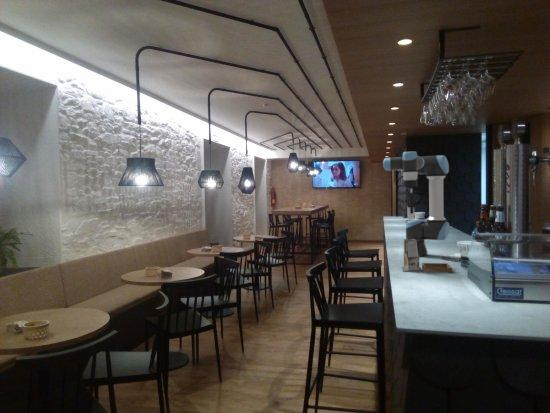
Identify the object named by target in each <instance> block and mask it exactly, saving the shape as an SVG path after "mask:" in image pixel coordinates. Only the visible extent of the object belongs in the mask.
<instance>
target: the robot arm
mask: <svg viewBox="0 0 550 413" xmlns="http://www.w3.org/2000/svg"><path fill="white" fill-rule="evenodd" d="M382 166H383V169H384V170H385V171H389V172H390V171H402V174H401V176H403V177H402V179H403V181H402V184H403V185H402V186H403V188H407V189H406V198H407V199H406V209H407V210H406V212H407V218H408V221H406V223H405V239H416V240H418V241H419V257H425V256H426V257H427V256H428V255H429V252H428V250H427V246H426V244H425V240H429V241H431V240H433V241H445V240H446V239H447V238H448V236H449V233H450V223H449V222H448V221H447V218H445V216H444V213H445V212H444V210H445V209H444V179H445V178H446V177H447V174H448V173H449V171H450V165H449V161H448V158H447V157H446V155H442V154H441V155H438V154H437V155H426V156H419V155H418V152H417V151H412V150H411V151H403V153H402V156H393V157H385V158H384V159H383V161H382ZM418 175H426V179H428V195H429V196H428V201H429V202H428V203H429V205H428V207H429V208H428V209H429V210H428V212H429V213H428V214H429V216H428V217H427V218H426V221H425V219H424V218H423V219H415V206H416V205H415V189H414V188H417V187H418V185H419V184H418Z"/></svg>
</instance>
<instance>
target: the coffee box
mask: <svg viewBox="0 0 550 413" xmlns="http://www.w3.org/2000/svg"><path fill="white" fill-rule="evenodd" d="M403 267H404V268H406V269H407V270H419V267H420V256H419V241H418V240H416V239H406V238H405V239H403Z"/></svg>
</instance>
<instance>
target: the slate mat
mask: <svg viewBox="0 0 550 413" xmlns="http://www.w3.org/2000/svg"><path fill="white" fill-rule="evenodd" d="M401 270H402V272H403V273H423V269H422V267H421V266H419V270H407V269H406V268H404V266H401Z"/></svg>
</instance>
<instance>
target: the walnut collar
mask: <svg viewBox="0 0 550 413" xmlns="http://www.w3.org/2000/svg"><path fill="white" fill-rule="evenodd" d="M421 270H422V272H424V273H428V274H429V273H431V274H432V273H433V274H435V273H436V274H444V273H445V274H453V268H452V266H451V265H450V263H449V262H446V263H445V262H444V263H443V262H442V263H441V262H440V263H439V262H436V263H435V262H434V263H433V262H432V263H431V262H428V263H427V262H422V263H421Z"/></svg>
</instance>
